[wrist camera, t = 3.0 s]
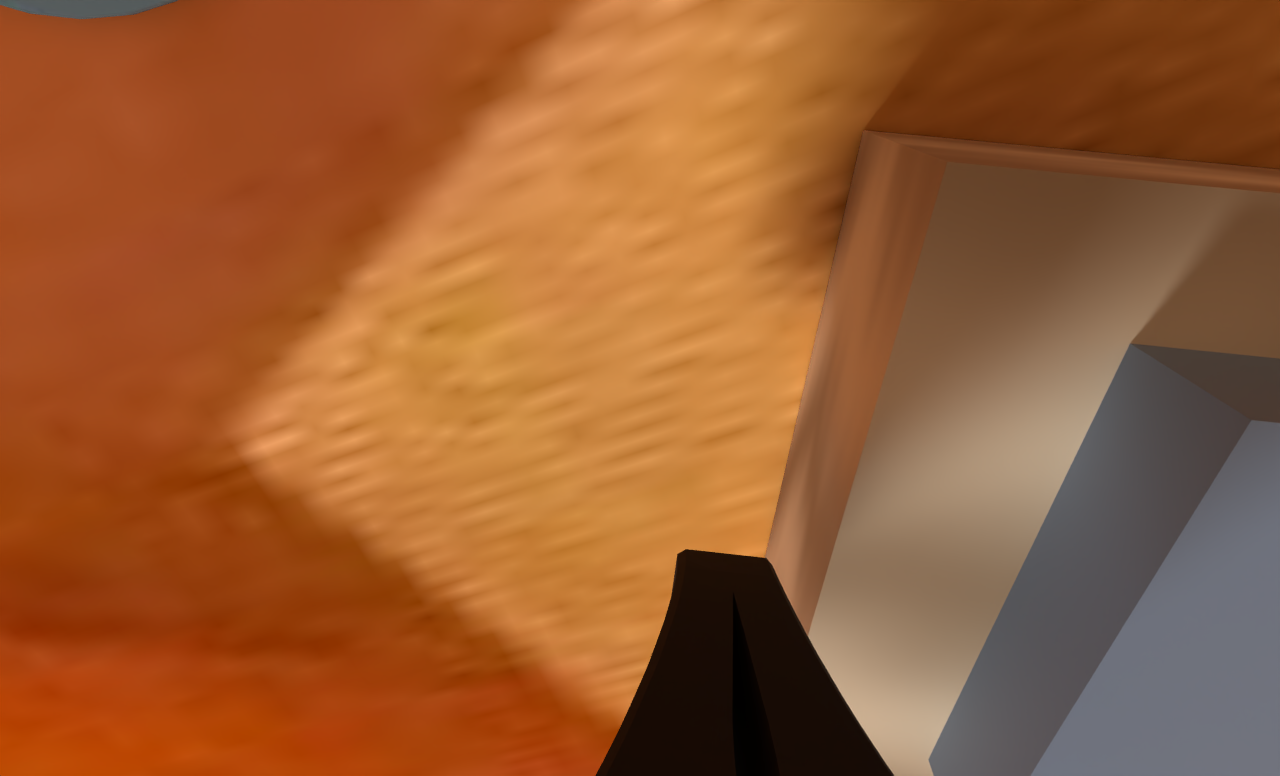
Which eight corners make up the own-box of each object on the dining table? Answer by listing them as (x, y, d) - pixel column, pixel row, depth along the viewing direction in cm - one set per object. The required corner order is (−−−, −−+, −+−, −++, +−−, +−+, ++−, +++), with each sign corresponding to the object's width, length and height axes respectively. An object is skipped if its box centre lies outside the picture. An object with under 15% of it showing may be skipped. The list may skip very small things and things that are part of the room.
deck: (1348, 714, 17) (1527, 891, 13) (744, 645, 17) (759, 799, 13) (1816, 219, 11) (2389, 298, 7) (863, 129, 11) (947, 162, 7)
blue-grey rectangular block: (1236, 795, 12) (1329, 919, 10) (928, 759, 12) (968, 875, 11) (1599, 390, 8) (1856, 483, 6) (1130, 343, 8) (1251, 421, 6)
